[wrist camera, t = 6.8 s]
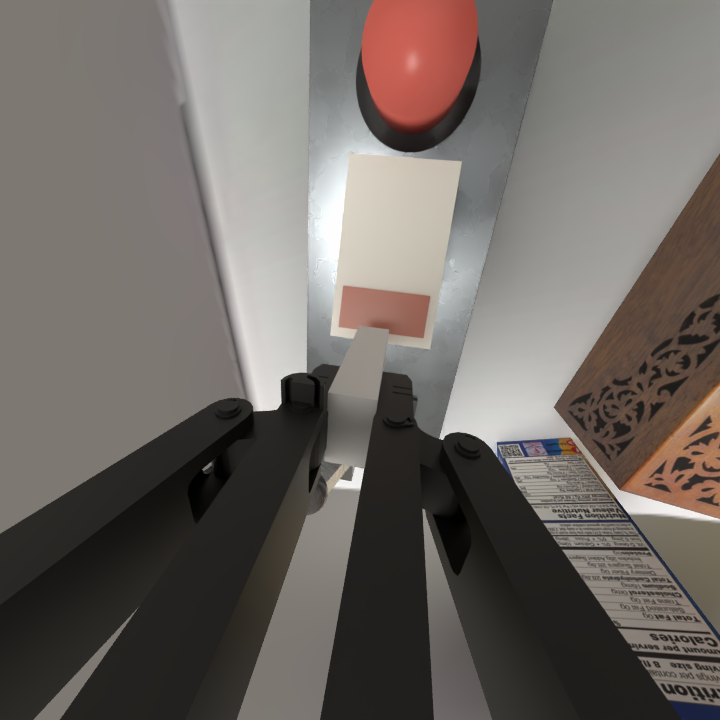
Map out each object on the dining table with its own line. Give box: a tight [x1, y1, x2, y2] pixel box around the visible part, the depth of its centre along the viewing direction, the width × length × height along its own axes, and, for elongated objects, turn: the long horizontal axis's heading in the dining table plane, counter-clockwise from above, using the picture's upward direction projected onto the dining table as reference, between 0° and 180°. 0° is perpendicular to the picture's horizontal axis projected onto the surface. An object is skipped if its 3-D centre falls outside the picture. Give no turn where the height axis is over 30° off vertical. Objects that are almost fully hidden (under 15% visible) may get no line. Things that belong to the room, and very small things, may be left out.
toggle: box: [307, 453, 350, 515], centre depth 20 cm, size 2×2×10 cm
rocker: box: [330, 153, 462, 349], centre depth 17 cm, size 10×6×2 cm, turn 176°
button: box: [362, 0, 478, 134], centre depth 14 cm, size 5×5×3 cm
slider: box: [340, 466, 354, 481], centre depth 26 cm, size 3×2×2 cm, turn 175°
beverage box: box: [497, 438, 720, 720], centre depth 22 cm, size 7×11×22 cm, turn 12°
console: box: [307, 0, 553, 439], centre depth 23 cm, size 32×12×6 cm, turn 175°
